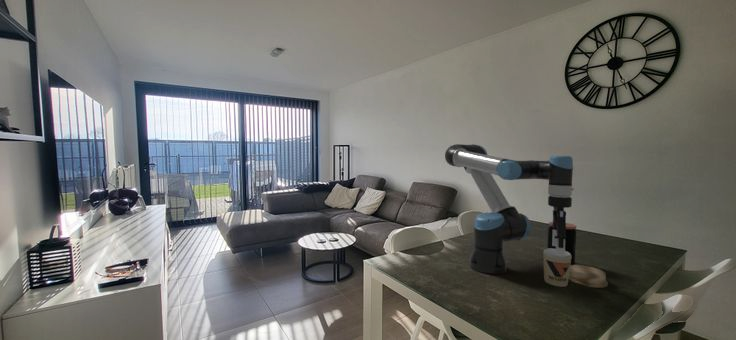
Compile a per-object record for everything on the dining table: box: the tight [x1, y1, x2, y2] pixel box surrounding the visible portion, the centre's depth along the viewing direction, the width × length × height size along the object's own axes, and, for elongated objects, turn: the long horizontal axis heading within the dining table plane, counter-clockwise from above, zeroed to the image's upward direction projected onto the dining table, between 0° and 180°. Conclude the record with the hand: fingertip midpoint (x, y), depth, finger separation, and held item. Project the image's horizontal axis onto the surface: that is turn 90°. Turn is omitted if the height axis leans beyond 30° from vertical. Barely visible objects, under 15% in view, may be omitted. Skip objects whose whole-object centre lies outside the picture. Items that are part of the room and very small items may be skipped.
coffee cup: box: [542, 247, 572, 288], centre depth 113 cm, size 9×9×12 cm
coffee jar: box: [546, 221, 577, 266], centre depth 133 cm, size 11×11×18 cm
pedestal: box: [568, 264, 609, 289], centre depth 115 cm, size 13×13×4 cm
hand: (558, 250), depth 112 cm, fingers open, 13 cm apart
